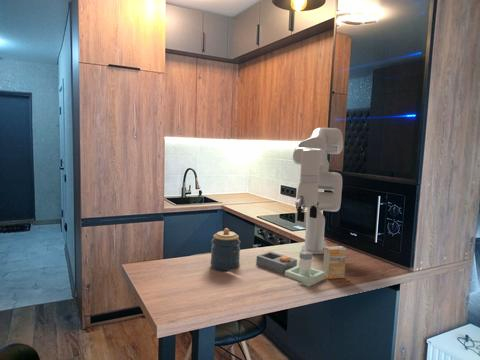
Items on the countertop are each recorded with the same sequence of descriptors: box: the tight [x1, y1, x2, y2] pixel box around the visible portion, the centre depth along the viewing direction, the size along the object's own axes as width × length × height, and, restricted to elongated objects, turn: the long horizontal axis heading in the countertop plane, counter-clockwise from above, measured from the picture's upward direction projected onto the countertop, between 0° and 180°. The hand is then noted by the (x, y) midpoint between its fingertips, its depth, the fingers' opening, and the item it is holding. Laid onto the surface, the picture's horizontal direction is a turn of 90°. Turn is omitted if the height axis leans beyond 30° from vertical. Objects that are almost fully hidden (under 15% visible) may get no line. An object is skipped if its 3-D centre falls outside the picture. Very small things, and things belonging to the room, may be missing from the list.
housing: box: [255, 251, 298, 275], centre depth 161 cm, size 10×15×5 cm, turn 47°
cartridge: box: [298, 250, 313, 277], centre depth 151 cm, size 5×5×10 cm
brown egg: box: [280, 255, 291, 262], centre depth 158 cm, size 4×4×5 cm
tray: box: [284, 264, 325, 287], centre depth 152 cm, size 12×12×3 cm
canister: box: [210, 227, 241, 272], centre depth 160 cm, size 13×13×18 cm
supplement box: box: [322, 245, 348, 280], centre depth 154 cm, size 8×5×13 cm, turn 105°
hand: (306, 219), depth 151 cm, fingers open, 9 cm apart
